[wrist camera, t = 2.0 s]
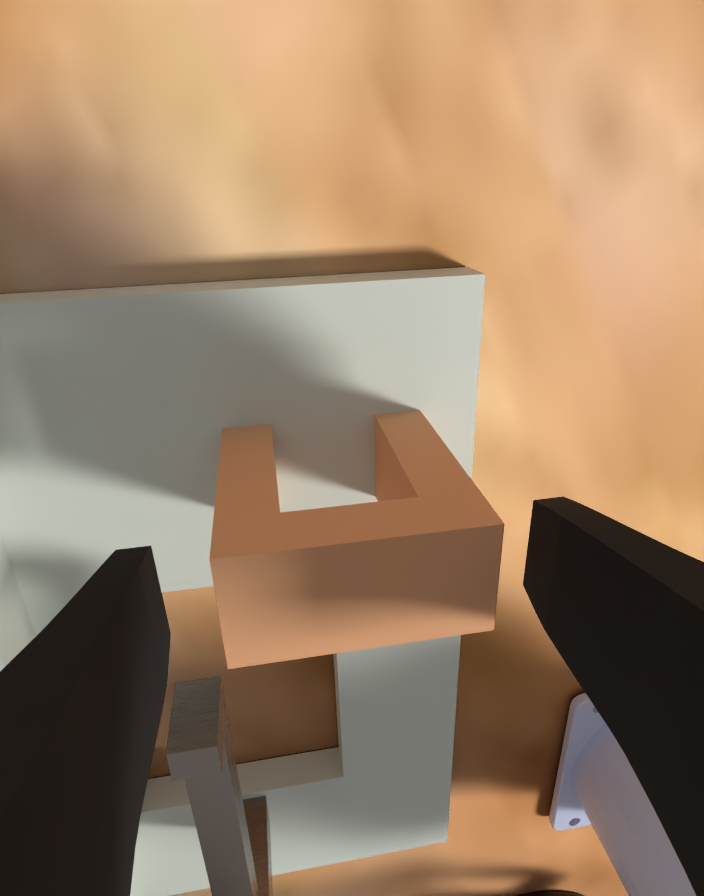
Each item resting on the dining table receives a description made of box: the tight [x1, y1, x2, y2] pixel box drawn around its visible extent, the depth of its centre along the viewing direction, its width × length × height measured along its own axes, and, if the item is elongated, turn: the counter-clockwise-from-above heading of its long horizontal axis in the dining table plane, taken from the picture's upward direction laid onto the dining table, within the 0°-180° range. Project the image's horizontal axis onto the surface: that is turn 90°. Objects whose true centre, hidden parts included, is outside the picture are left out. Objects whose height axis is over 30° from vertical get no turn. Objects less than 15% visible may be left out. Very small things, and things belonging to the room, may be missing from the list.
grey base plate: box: [0, 267, 485, 896], centre depth 17 cm, size 13×22×3 cm, turn 2°
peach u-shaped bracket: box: [209, 410, 504, 669], centre depth 13 cm, size 5×2×5 cm, turn 92°
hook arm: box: [166, 676, 273, 896], centre depth 17 cm, size 2×11×6 cm, turn 2°
